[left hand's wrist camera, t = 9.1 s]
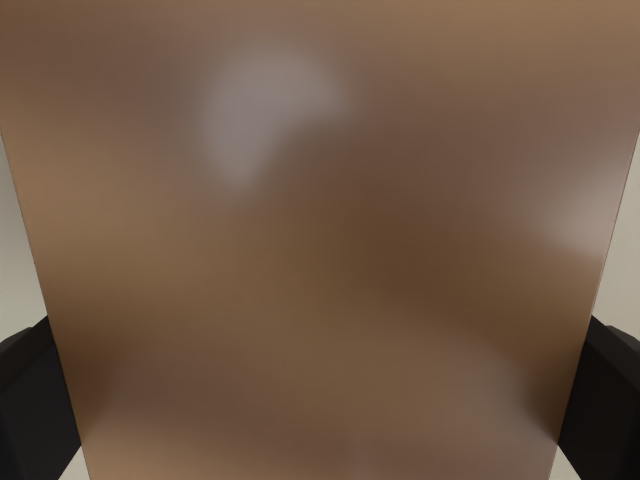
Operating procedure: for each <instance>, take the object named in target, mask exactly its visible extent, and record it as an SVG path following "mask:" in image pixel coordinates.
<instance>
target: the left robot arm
mask: <svg viewBox="0 0 640 480" xmlns="http://www.w3.org/2000/svg"><path fill="white" fill-rule="evenodd" d="M80 446H81V443H80V439H79V435H78V431H77V427H76V423H75V419H74V415H73V411H72V408H71V404H70V400H69V396H68V392H67V388H66V384H65V380H64V376H63V373H62V369H61V365H60V361H59V357H58V353H57V349H56V345H55V341H54V338H53V334H52V330H51V326H50V322H49V318H48V315H47V316H46V317H44V318H43V319H42V320H41V321H40V322H38V323H37V324H36V325H35V326H34V327H28V328H26V329H24V330H22V331H20V332H18V333H16V334H14V335H12V336H10V337H8V338H6V339H5V340H3V341H2V342H1V343H0V480H58V479H59V478H60V476H61V475H62V473H63V472H64V470H65V469H66V467H67V466H68V464H69V463H70V461H71V460H72V458H73V457H74V455H75V454H76V452H77V451H78V449H79V448H80ZM558 446H559V447H560V449H561V450H562V452H563V453H564V455H565V456H566V458H567V459H568V461H569V462H570V464H571V465H572V467H573V468H574V470H575V471H576V473H577V474H578V476H579V477H580V479H581V480H640V341H638V340H637V339H636V338H635V337H633V336H631V335H629V334H627V333H625V332H623V331H621V330H619V329H617V328H615V327H613V326H605V325H604V324H602V323H601V322H600V321H599V320H598V319H596V318H595V317H594V316H593V315H591V319H590V323H589V327H588V331H587V334H586V338H585V342H584V346H583V350H582V354H581V357H580V361H579V365H578V369H577V373H576V377H575V380H574V384H573V388H572V392H571V396H570V400H569V404H568V407H567V411H566V415H565V419H564V423H563V427H562V430H561V434H560V438H559V442H558Z"/></svg>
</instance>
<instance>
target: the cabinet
mask: <svg viewBox="0 0 640 480" xmlns="http://www.w3.org/2000/svg"><path fill="white" fill-rule="evenodd" d="M639 131H640V0H0V132H1V135H2V139H3V143H4V147H5V151H6V155H7V159H8V163H9V167H10V170H11V174H12V178H13V182H14V186H15V190H16V194H17V198H18V201H19V205H20V209H21V213H22V217H23V221H24V225H25V229H26V233H27V236H28V240H29V244H30V248H31V252H32V256H33V260H34V264H35V268H36V271H37V275H38V279H39V283H40V287H41V291H42V295H43V299H44V303H45V306H46V310H47V314H48V318H49V322H50V326H51V330H52V334H53V338H54V341H55V345H56V349H57V353H58V357H59V361H60V365H61V369H62V373H63V376H64V380H65V384H66V388H67V392H68V396H69V400H70V404H71V408H72V411H73V415H74V419H75V423H76V427H77V431H78V435H79V439H80V443H81V446H82V450H83V454H84V458H85V462H86V466H87V470H88V474H89V478H90V480H549V477H550V473H551V469H552V465H553V461H554V457H555V453H556V450H557V446H558V442H559V438H560V434H561V430H562V427H563V423H564V419H565V415H566V411H567V407H568V404H569V400H570V396H571V392H572V388H573V384H574V380H575V377H576V373H577V369H578V365H579V361H580V357H581V354H582V350H583V346H584V342H585V338H586V334H587V331H588V327H589V323H590V319H591V315H592V311H593V307H594V304H595V300H596V296H597V292H598V288H599V284H600V281H601V277H602V273H603V269H604V265H605V261H606V258H607V254H608V250H609V246H610V242H611V238H612V234H613V231H614V227H615V223H616V219H617V215H618V211H619V208H620V204H621V200H622V196H623V192H624V188H625V184H626V181H627V177H628V173H629V169H630V165H631V161H632V158H633V154H634V150H635V146H636V142H637V138H638V135H639Z"/></svg>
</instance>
